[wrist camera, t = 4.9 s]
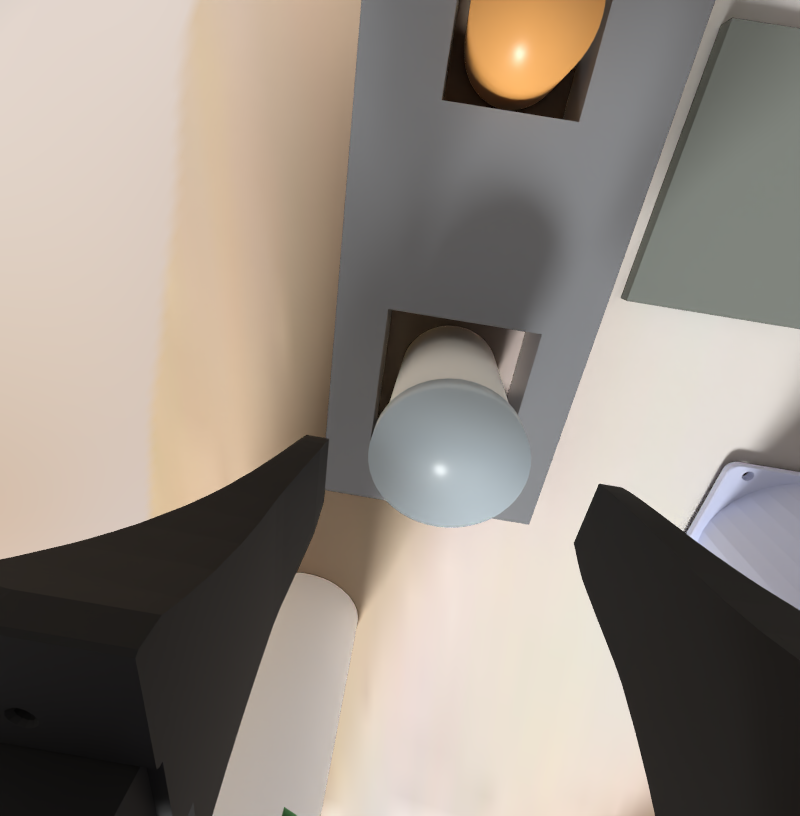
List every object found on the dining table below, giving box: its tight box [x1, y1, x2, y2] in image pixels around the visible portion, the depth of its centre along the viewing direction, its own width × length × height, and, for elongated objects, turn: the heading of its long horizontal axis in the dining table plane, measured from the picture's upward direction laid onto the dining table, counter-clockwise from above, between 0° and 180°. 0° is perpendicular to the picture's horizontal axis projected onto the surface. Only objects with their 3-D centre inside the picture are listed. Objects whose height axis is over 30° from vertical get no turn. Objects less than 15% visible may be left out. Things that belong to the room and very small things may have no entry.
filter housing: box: [325, 0, 715, 524], centre depth 17 cm, size 10×22×2 cm, turn 172°
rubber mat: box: [621, 18, 800, 329], centre depth 16 cm, size 9×9×1 cm
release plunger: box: [464, 0, 606, 110], centre depth 13 cm, size 4×4×3 cm
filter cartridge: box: [368, 326, 531, 527], centre depth 16 cm, size 5×5×8 cm
